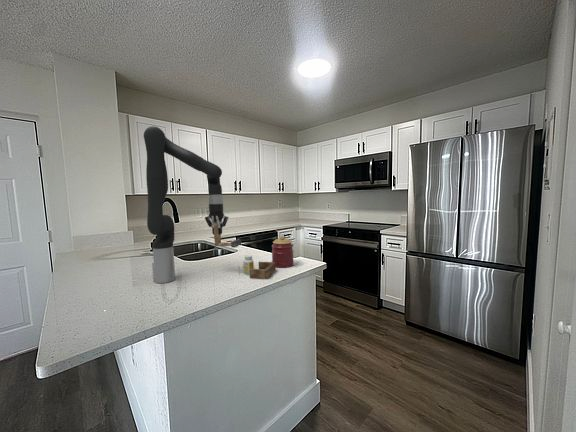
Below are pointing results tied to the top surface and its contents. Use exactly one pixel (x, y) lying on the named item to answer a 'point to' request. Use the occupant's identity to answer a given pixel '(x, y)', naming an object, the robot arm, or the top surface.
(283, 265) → the canister
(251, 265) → the supplement bottle
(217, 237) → the wooden l-shaped bracket
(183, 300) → the top surface
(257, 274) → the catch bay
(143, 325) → the top surface
